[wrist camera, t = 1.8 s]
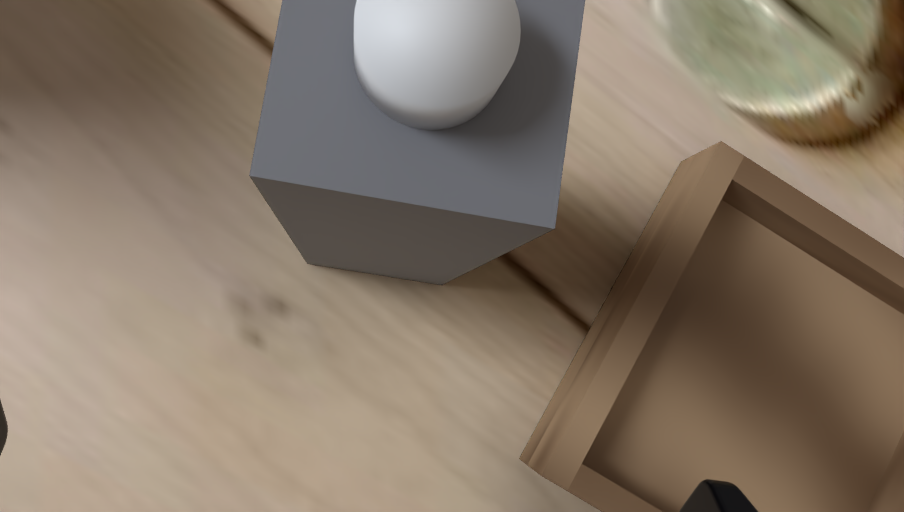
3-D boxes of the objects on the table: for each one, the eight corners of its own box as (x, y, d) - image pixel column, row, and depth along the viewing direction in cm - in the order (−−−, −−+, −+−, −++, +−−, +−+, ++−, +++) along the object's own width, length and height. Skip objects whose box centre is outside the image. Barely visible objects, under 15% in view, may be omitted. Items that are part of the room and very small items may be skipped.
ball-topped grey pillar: (441, 285, 21) (578, 216, 8) (306, 263, 21) (237, 157, 8) (461, 155, 22) (618, -93, 9) (330, 131, 21) (298, -167, 8)
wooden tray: (812, 632, 22) (872, 670, 19) (518, 458, 21) (541, 475, 19) (949, 331, 23) (1019, 331, 21) (680, 161, 23) (720, 141, 20)
